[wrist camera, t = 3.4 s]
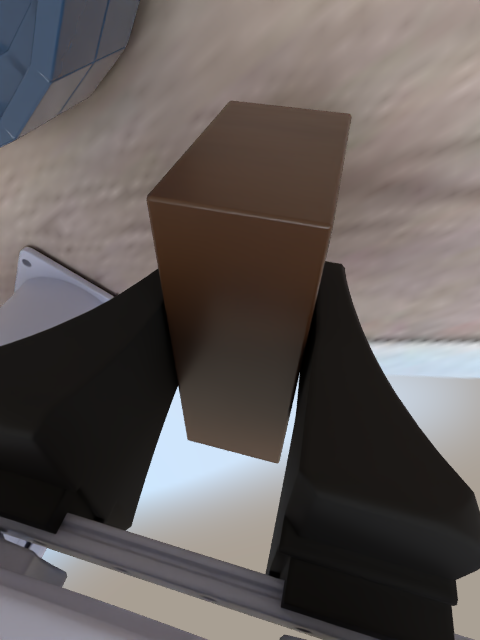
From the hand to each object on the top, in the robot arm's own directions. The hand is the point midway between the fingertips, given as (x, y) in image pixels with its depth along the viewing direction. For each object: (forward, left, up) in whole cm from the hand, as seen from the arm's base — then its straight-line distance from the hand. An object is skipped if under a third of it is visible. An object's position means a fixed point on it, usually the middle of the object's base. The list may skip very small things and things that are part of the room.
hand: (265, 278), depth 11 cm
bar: (0, 0, -1) cm, 1 cm away
